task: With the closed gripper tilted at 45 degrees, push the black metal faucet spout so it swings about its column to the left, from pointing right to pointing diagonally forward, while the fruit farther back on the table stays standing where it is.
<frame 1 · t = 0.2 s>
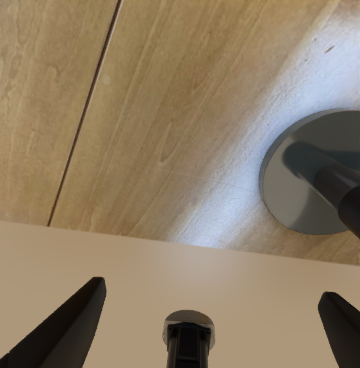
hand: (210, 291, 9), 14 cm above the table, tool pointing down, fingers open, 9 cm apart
faucet base: (323, 174, 21), on the table
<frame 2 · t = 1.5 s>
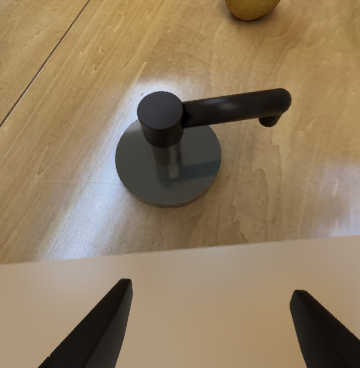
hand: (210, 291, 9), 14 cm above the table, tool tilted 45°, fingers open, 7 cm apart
faucet base: (168, 159, 26), on the table
spout: (213, 115, 20), point 7 cm above the table, hinge at 0.0°
fruit: (248, 11, 35), on the table
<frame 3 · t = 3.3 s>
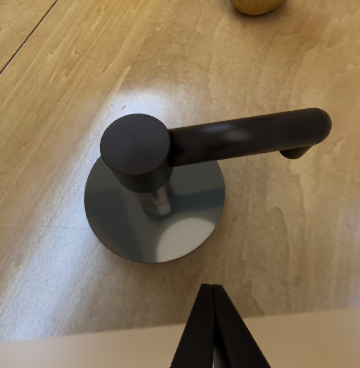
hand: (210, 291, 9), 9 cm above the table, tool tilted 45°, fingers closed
faucet base: (156, 193, 20), on the table
spout: (215, 146, 14), point 7 cm above the table, hinge at 0.0°
fruit: (254, 4, 29), on the table
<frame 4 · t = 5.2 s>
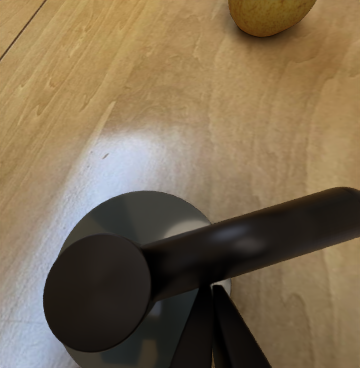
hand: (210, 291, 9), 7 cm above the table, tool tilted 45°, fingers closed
faucet base: (144, 274, 16), on the table
spout: (216, 251, 10), point 7 cm above the table, hinge at 6.9°, touching gripper
fruit: (261, 22, 25), on the table
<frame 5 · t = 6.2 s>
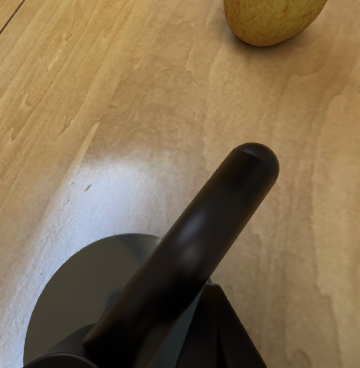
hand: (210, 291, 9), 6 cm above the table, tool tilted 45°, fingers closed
faucet base: (131, 329, 14), on the table
spout: (167, 281, 9), point 7 cm above the table, hinge at 41.5°, touching gripper
fruit: (261, 29, 22), on the table
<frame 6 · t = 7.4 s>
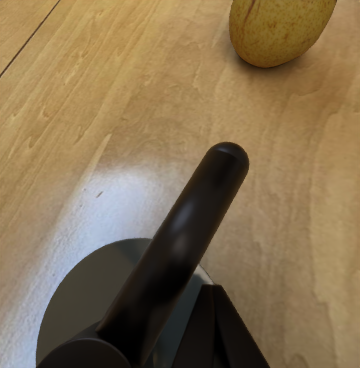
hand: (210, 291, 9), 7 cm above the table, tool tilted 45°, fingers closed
faucet base: (137, 330, 15), on the table
spout: (165, 270, 10), point 7 cm above the table, hinge at 50.0°, touching gripper
fruit: (263, 51, 24), on the table
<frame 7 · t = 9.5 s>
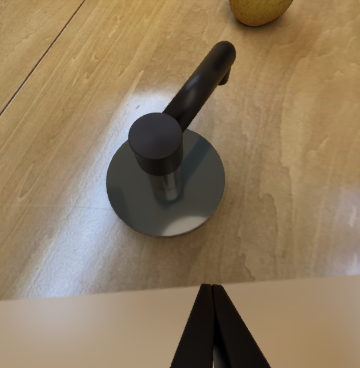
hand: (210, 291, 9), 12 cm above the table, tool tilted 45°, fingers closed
faucet base: (166, 181, 24), on the table
spout: (189, 106, 18), point 7 cm above the table, hinge at 50.0°
fruit: (255, 16, 32), on the table
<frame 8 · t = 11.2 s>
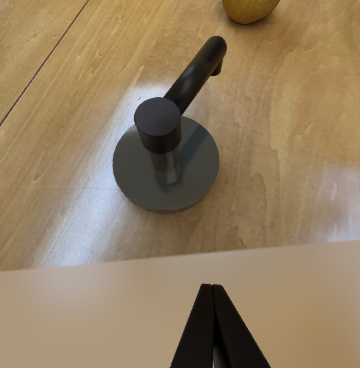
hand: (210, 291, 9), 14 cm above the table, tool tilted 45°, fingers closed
faucet base: (166, 163, 26), on the table
spout: (186, 93, 21), point 7 cm above the table, hinge at 50.0°
fruit: (246, 14, 35), on the table
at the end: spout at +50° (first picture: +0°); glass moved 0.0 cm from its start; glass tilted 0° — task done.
